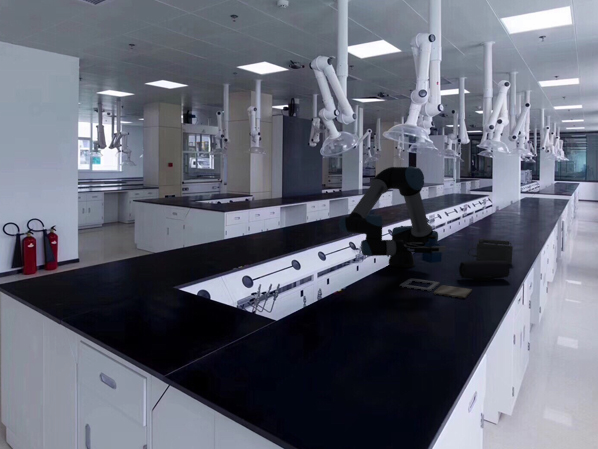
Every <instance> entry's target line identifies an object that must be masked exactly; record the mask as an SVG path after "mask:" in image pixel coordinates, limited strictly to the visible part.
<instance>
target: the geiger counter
mask: <svg viewBox="0 0 598 449" xmlns="http://www.w3.org/2000/svg"><path fill="white" fill-rule="evenodd" d="M477 241H478V242H477V243H476V254H470V251H471V250H474V249H475V247H472V248H470V249H469V250H468V251H467V254H468V256H471V257H472V258H473V257H474V258H475V259H476V260H475V261H506V262H507V263H508V265H512V264H513V247H514V246H513V245H512V243H511V242H510V240H501V239H500V240H499V239H485V238H481V237H480V238H478V240H477Z"/></svg>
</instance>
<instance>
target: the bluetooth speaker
mask: <svg viewBox="0 0 598 449" xmlns="http://www.w3.org/2000/svg"><path fill="white" fill-rule="evenodd" d="M458 270H459V271H458V273H459V276H460V277H461V278H462V279H469V280H470V279H471V280H473V281H478V282H479V281H483V282H485V281H494V280H495V279H501V278H502V279H505V278H508V277H509V276H510V273H511V272H510V264H508V263H507V262H506V261H476V260H473V261H471V260H469V261H462V262H460V264H459V267H458Z"/></svg>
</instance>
